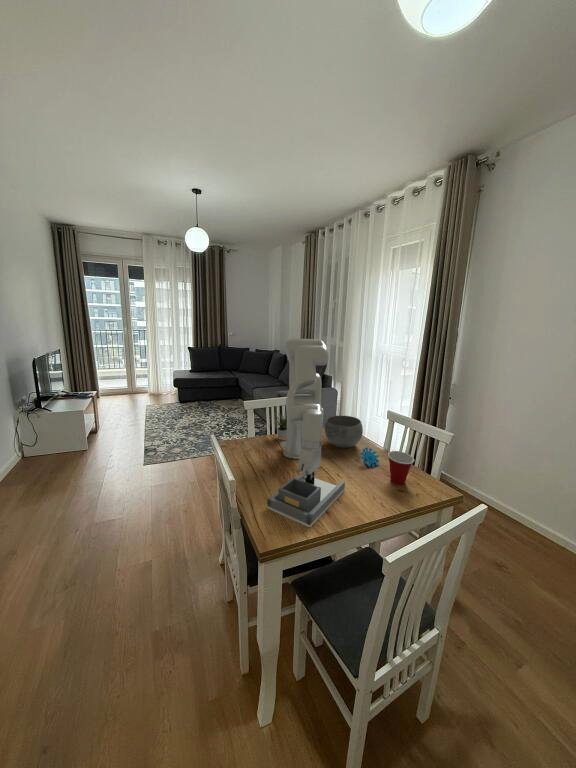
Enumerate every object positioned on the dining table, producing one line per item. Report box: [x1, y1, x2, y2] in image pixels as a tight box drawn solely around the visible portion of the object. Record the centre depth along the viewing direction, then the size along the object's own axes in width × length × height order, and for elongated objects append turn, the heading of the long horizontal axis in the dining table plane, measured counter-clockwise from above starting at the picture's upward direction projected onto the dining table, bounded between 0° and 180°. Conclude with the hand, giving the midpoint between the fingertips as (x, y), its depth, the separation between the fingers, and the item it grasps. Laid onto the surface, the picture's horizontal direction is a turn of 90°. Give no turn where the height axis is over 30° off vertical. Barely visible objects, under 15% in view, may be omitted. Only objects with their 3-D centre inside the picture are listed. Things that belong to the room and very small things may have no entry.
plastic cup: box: [387, 450, 415, 485], centre depth 132 cm, size 11×11×12 cm
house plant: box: [272, 412, 287, 439], centre depth 176 cm, size 14×14×16 cm
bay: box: [267, 472, 346, 528], centre depth 118 cm, size 18×28×4 cm, turn 146°
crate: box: [278, 477, 321, 513], centre depth 112 cm, size 12×10×7 cm
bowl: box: [324, 415, 364, 449], centre depth 168 cm, size 20×20×15 cm
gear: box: [360, 447, 380, 468], centre depth 149 cm, size 11×6×10 cm
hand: (309, 486), depth 118 cm, fingers closed
